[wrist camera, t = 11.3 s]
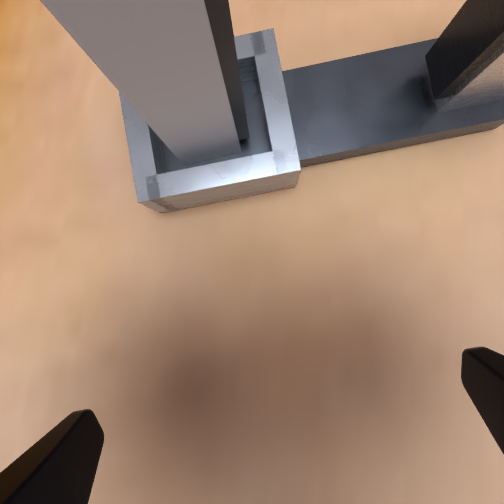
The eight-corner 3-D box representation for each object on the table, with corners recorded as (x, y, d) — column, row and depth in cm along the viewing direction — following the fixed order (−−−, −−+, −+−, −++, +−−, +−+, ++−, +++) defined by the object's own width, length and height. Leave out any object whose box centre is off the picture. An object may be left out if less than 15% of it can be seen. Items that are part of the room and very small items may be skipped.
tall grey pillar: (251, 149, 18) (211, -111, 5) (183, 165, 18) (-7, -53, 6) (241, 99, 18) (178, -267, 6) (173, 114, 18) (-33, -206, 6)
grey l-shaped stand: (498, 147, 19) (1179, -201, 5) (161, 213, 20) (-107, 87, 6) (471, 27, 19) (1031, -628, 5) (141, 98, 20) (-156, -286, 6)
